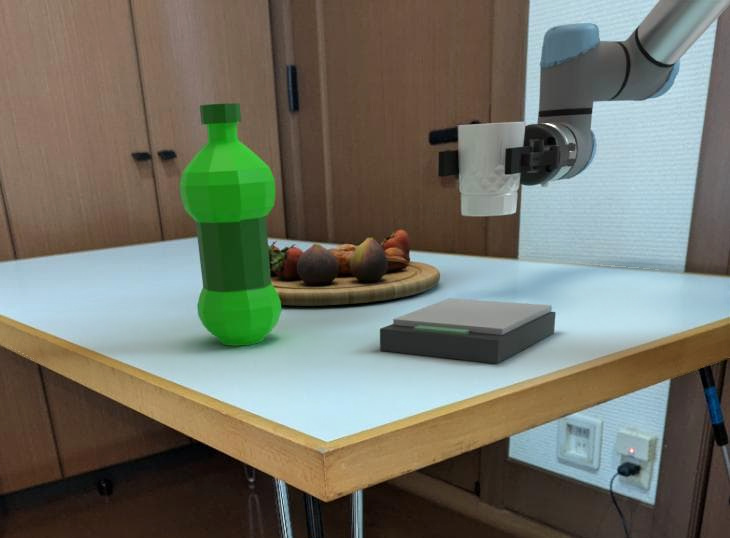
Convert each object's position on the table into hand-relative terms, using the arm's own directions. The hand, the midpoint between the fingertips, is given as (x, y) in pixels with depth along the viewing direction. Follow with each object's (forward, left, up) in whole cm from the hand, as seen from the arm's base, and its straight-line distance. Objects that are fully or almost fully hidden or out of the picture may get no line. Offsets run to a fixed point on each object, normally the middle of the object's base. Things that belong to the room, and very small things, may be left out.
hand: (474, 162), depth 93 cm
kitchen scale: (-6, +11, -18) cm, 22 cm away
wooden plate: (+29, -13, -18) cm, 37 cm away
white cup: (0, -5, -6) cm, 8 cm away
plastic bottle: (+19, +21, -18) cm, 34 cm away
